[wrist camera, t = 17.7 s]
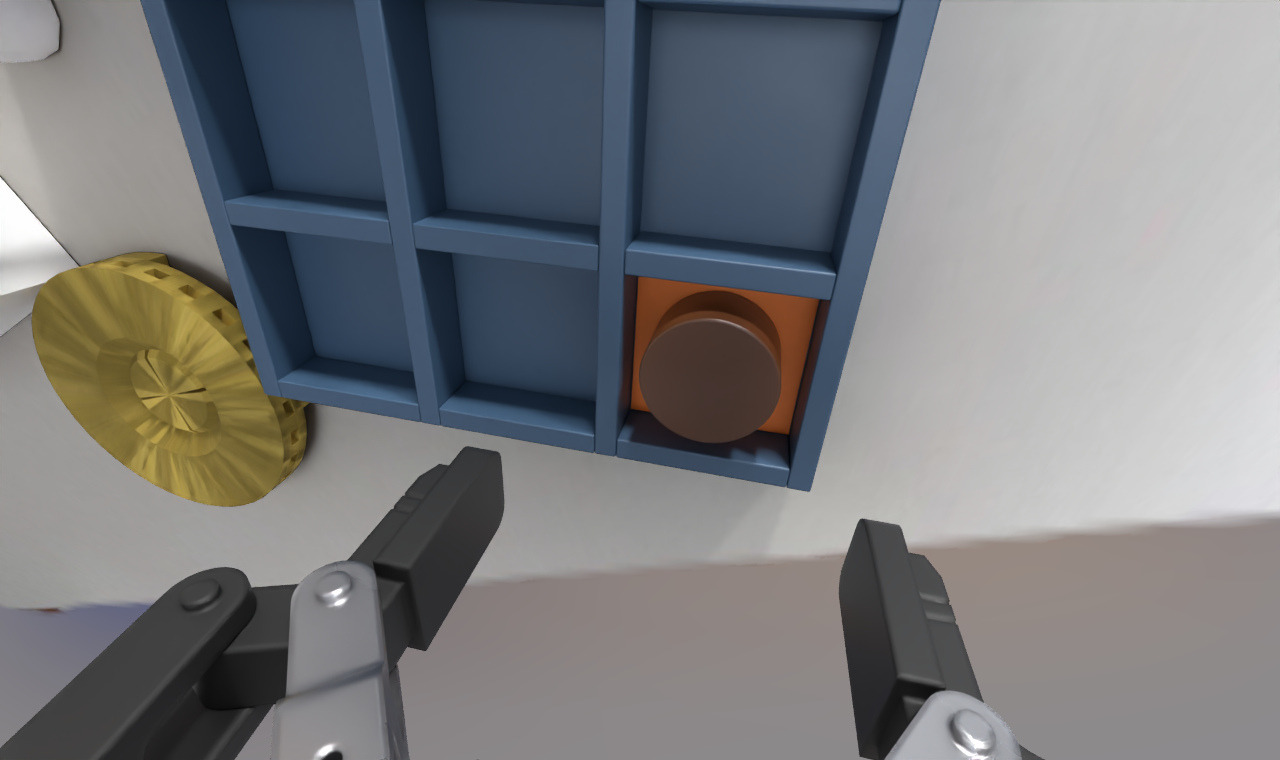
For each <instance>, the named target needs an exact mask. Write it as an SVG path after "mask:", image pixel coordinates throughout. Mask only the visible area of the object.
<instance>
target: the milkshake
mask: <svg viewBox="0 0 1280 760" xmlns="http://www.w3.org/2000/svg"><path fill="white" fill-rule="evenodd" d="M59 29H60V21H59V18H58V16H57V14H56V12H55V9H54V7H53V5H52V2H51V0H0V63H13V62H28V61H40V60H43V59H45V58H46V57H48V56H49V55H50V54H52V53H53V52H55V51H56V50H58V49H59Z"/></svg>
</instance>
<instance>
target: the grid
mask: <svg viewBox="0 0 1280 760" xmlns="http://www.w3.org/2000/svg"><path fill="white" fill-rule="evenodd" d="M140 1H141V4H142V7H143V10H144V14H145V17H146V20H147V23H148V26H149V29H150V33H151V36H152V39H153V42H154V45H155V48H156V52H157V55H158V58H159V61H160V64H161V67H162V70H163V74H164V77H165V80H166V83H167V86H168V89H169V93H170V96H171V99H172V102H173V105H174V108H175V112H176V115H177V118H178V121H179V124H180V127H181V130H182V134H183V137H184V140H185V143H186V146H187V149H188V153H189V156H190V159H191V162H192V165H193V168H194V172H195V175H196V178H197V181H198V184H199V187H200V190H201V194H202V197H203V200H204V203H205V206H206V209H207V213H208V216H209V219H210V222H211V225H212V228H213V232H214V235H215V238H216V241H217V244H218V247H219V251H220V254H221V257H222V260H223V263H224V266H225V269H226V273H227V276H228V279H229V282H230V285H231V288H232V292H233V295H234V298H235V301H236V304H237V307H238V311H239V314H240V317H241V320H242V323H243V326H244V329H245V333H246V336H247V339H248V342H249V345H250V348H251V352H252V355H253V358H254V361H255V364H256V367H257V371H258V374H259V377H260V380H261V383H262V386H263V389H264V393H265V394H266V395H272V396H277V397H283V398H289V399H294V400H300V401H305V402H311V403H316V404H322V405H328V406H333V407H339V408H344V409H350V410H356V411H361V412H367V413H372V414H378V415H383V416H389V417H395V418H400V419H406V420H411V421H417V422H421V421H422V422H423V423H428V424H434V425H441V426H445V427H451V428H456V429H462V430H467V431H473V432H479V433H484V434H490V435H495V436H501V437H507V438H512V439H518V440H523V441H529V442H534V443H540V444H546V445H551V446H557V447H562V448H568V449H574V450H579V451H585V452H590V453H594V452H595V453H597V454H603V455H608V456H617V457H619V458H625V459H630V460H636V461H641V462H647V463H652V464H658V465H664V466H669V467H675V468H680V469H686V470H692V471H697V472H703V473H708V474H714V475H719V476H725V477H731V478H736V479H742V480H747V481H753V482H759V483H764V484H770V485H775V486H781V487H786V485H787V488H791V489H797V490H802V491H808V492H809V491H810V490H811V487H812V483H813V479H814V475H815V472H816V468H817V464H818V460H819V457H820V453H821V449H822V445H823V441H824V438H825V434H826V430H827V426H828V423H829V419H830V415H831V411H832V408H833V404H834V400H835V396H836V393H837V389H838V385H839V381H840V378H841V374H842V370H843V366H844V363H845V359H846V355H847V351H848V348H849V344H850V340H851V336H852V333H853V329H854V325H855V321H856V318H857V314H858V310H859V306H860V303H861V299H862V295H863V291H864V287H865V284H866V280H867V276H868V272H869V269H870V265H871V261H872V257H873V254H874V250H875V246H876V242H877V239H878V235H879V231H880V227H881V224H882V220H883V216H884V212H885V209H886V205H887V201H888V197H889V194H890V190H891V186H892V182H893V179H894V175H895V171H896V167H897V164H898V160H899V156H900V152H901V149H902V145H903V141H904V137H905V133H906V130H907V126H908V122H909V118H910V115H911V111H912V107H913V103H914V100H915V96H916V92H917V88H918V85H919V81H920V77H921V73H922V70H923V66H924V62H925V58H926V55H927V51H928V47H929V43H930V40H931V36H932V32H933V28H934V25H935V21H936V17H937V13H938V10H939V6H940V2H941V0H140ZM705 291H724V292H729V293H734V294H737V295H740V296H742V297H744V298H747V299H749V300H750V301H752V302H753V303H755V304H757V305H758V306H759V307H760V308H761V309H762V310H764V312H765V313H766V314H767V315H768V316H769V317H770V319H771V320H772V322H773V323H774V325H775V327H776V329H777V332H778V335H779V338H780V343H781V393H780V397H779V401H778V404H777V406H776V408H775V410H774V412H773V413H772V415H771V416H770V418H769V419H768V420H767V421H766V422H765V423H764V424H763V425H762V426H761V427H760V428H758V429H757V430H756V431H754V432H753V433H751V434H749V435H747V436H745V437H743V438H740V439H737V440H734V441H729V442H723V443H705V442H698V441H694V440H690V439H687V438H684V437H682V436H680V435H678V434H676V433H674V432H672V431H671V430H669V429H668V428H666V427H665V426H664V425H662V424H661V423H660V422H659V421H658V420H657V419H656V418H655V417H654V415H653V414H652V413H651V412H650V410H649V408H648V407H647V405H646V403H645V401H644V399H643V396H642V393H641V390H640V384H639V369H640V364H641V360H642V357H643V355H644V353H645V351H646V349H647V346H648V344H649V342H650V340H651V338H652V336H653V334H654V332H655V330H656V327H657V325H658V323H659V321H660V320H661V318H662V317H663V315H664V314H665V313H666V312H667V310H668V309H669V308H670V307H672V306H673V305H674V304H675V303H677V302H678V301H680V300H681V299H683V298H685V297H687V296H690V295H693V294H696V293H700V292H705Z"/></svg>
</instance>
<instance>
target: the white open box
mask: <svg viewBox="0 0 1280 760" xmlns="http://www.w3.org/2000/svg"><path fill="white" fill-rule="evenodd" d="M77 267H79V266H78V265H77V263H76V262H75V261H74V260H73V259H72V258H71V257H70V256H69V254H68V253H67V252H66V251H65V250H64V249H63V248H62V246H61V245H60V244H59V243H58V242H57V241H56V240H55V239H54V237H53V236H52V235H51V234H50V233H49V232H48V231H47V229H46V228H45V227H44V226H43V225H42V224H41V223H40V222H39V220H38V219H37V218H36V217H35V216H34V215H33V214H32V213H31V211H30V210H29V209H28V208H27V207H26V206H25V205H24V203H23V202H22V201H21V200H20V199H19V198H18V197H17V196H16V194H15V193H14V192H13V191H12V190H11V189H10V188H9V186H8V185H7V184H6V183H5V182H4V181H3V180H2V179H1V177H0V337H1V336H2V335H3V334H4V333H6V332H7V331H8V330H10V329H11V328H12V327H13V326H15V325H16V324H17V323H19V322H20V321H21V320H22V319H24V318H25V317H26V316H27V315H29V314H30V313H31V312H32V310H33V306H34V302H35V298H36V296H37V295H38V293H39V291H40V289H41V288H42V286H43V285H44V284H45V283H46V282H47V281H48V280H49V279H51V278H52V277H54V276H55V275H57V274H59V273H61V272H64V271H67V270H70V269H73V268H77Z"/></svg>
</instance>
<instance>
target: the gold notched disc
mask: <svg viewBox="0 0 1280 760" xmlns="http://www.w3.org/2000/svg"><path fill="white" fill-rule="evenodd" d="M32 330H33V338H34V342H35V346H36V350H37V353H38V356H39V359H40V361H41V364H42V366H43V368H44V371H45V373H46V375H47V377H48V379H49V381H50V382H51V384H52V386H53V388H54V389H55V391H56V393H57V394H58V396H59V397H60V399H61V400H62V402H63V403H64V405H65V406H66V407H67V409H68V410H69V411H70V413H71V414H72V415H73V416H74V418H75V419H76V420H77V421H78V422H79V424H80V425H81V426H82V427H83V428H84V429H85V430H86V431H87V433H88V434H89V435H90V436H91V437H92V438H93V439H95V440H96V441H97V442H98V443H99V444H100V445H101V446H102V447H103V448H104V449H105V450H106V451H107V452H109V453H110V454H111V455H112V456H113V457H114V458H116V459H117V460H118V461H120V462H121V463H122V464H123V465H125V466H126V467H127V468H129V469H130V470H132V471H133V472H135V473H136V474H138V475H139V476H141V477H142V478H144V479H146V480H147V481H149V482H151V483H152V484H154V485H156V486H158V487H160V488H162V489H164V490H166V491H168V492H170V493H173V494H175V495H177V496H180V497H182V498H185V499H188V500H191V501H194V502H198V503H203V504H207V505H214V506H225V507H233V506H241V505H246V504H249V503H253V502H255V501H257V500H259V499H261V498H263V497H264V496H265V495H266V494H268V493H269V492H270V491H271V490H273V489H274V488H275V487H276V486H277V485H279V484H280V483H281V482H282V481H283V480H285V479H286V478H287V477H288V476H289V475H291V474H292V473H293V472H294V470H295V469H296V468H297V467H298V465H299V463H300V461H301V459H302V457H303V455H304V451H305V447H306V439H307V427H306V418H305V413H304V409H303V407H305V406H306V405H308V404H309V403H310V402H305V401H300V400H294V399H289V398H283V397H277V396H272V395H266V394H265V393H264V389H263V386H262V383H261V380H260V377H259V374H258V371H257V367H256V364H255V361H254V358H253V355H252V352H251V348H250V345H249V342H248V339H247V336H246V333H245V329H244V326H243V323H242V320H241V317H240V314H239V311H238V309H237V308H235V307H234V306H233V305H232V304H231V303H230V302H228V301H227V300H226V299H224V298H223V297H222V296H221V295H219V294H218V293H217V292H215V291H214V290H212V289H211V288H209V287H208V286H206V285H205V284H203V283H201V282H200V281H198V280H196V279H194V278H193V277H191V276H189V275H187V274H185V273H183V272H181V271H179V270H176V269H174V268H171V267H169V263H168V260H167V257H166V255H164V254H158V253H152V252H134V253H128V254H123V255H119V256H116V257H112V258H108V259H105V260H101V261H98V262H94V263H91V264H87V265H84V266H80V267H77V268H73V269H70V270H67V271H64V272H61V273H59V274H57V275H55V276H54V277H52V278H51V279H49V280H48V281H47V282H46V283H45V284H44V285H43V286H42V288H41V289H40V291H39V293H38V295H37V296H36V298H35V302H34V306H33V310H32Z"/></svg>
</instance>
